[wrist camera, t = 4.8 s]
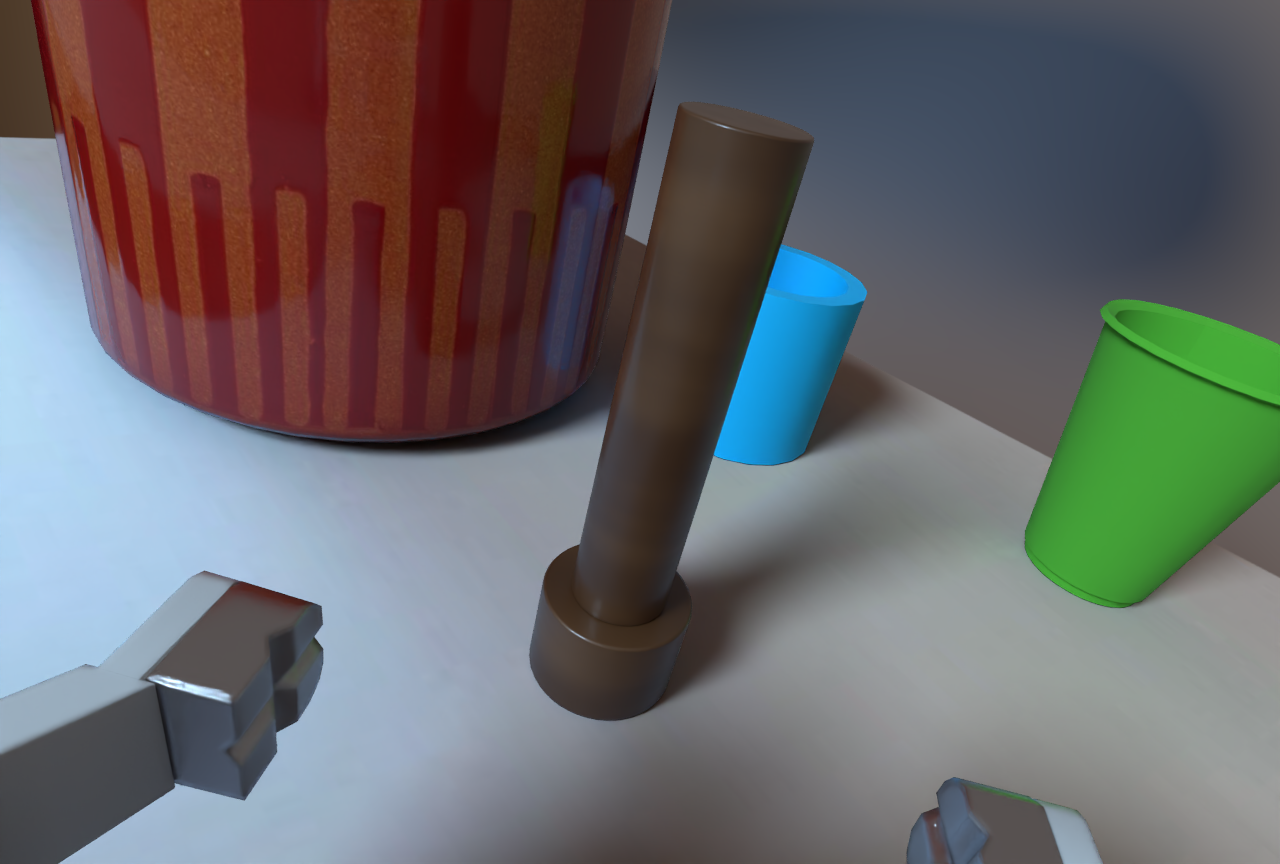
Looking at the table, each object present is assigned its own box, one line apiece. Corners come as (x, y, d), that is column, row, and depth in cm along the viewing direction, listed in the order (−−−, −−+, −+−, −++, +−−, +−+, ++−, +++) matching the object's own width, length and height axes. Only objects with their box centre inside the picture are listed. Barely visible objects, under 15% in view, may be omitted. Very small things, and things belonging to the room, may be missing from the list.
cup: (973, 580, 31) (1116, 342, 25) (982, 481, 38) (1094, 281, 33) (1209, 683, 28) (1427, 447, 23) (1170, 557, 36) (1327, 354, 30)
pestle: (661, 738, 21) (868, 168, 13) (511, 699, 21) (623, 105, 13) (675, 626, 25) (842, 130, 17) (547, 593, 25) (652, 82, 17)
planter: (158, 528, 24) (22, -334, 13) (57, 254, 37) (-48, -275, 27) (684, 408, 38) (815, -54, 28) (471, 242, 52) (505, -108, 41)
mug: (737, 482, 33) (795, 315, 29) (621, 394, 38) (656, 239, 34) (877, 426, 41) (939, 288, 37) (767, 359, 46) (810, 229, 41)
